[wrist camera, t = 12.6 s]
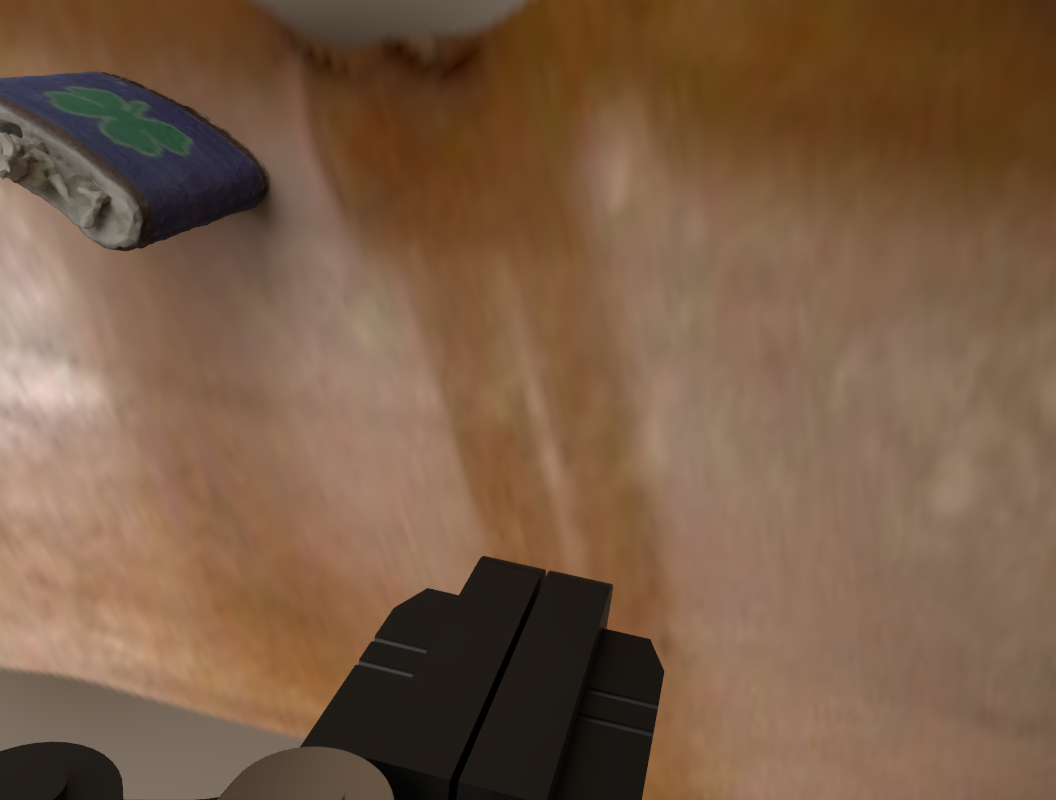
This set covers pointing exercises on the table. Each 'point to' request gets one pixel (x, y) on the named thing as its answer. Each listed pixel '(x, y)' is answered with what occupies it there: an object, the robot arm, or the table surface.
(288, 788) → the robot arm
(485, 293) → the table surface
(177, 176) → the flask
